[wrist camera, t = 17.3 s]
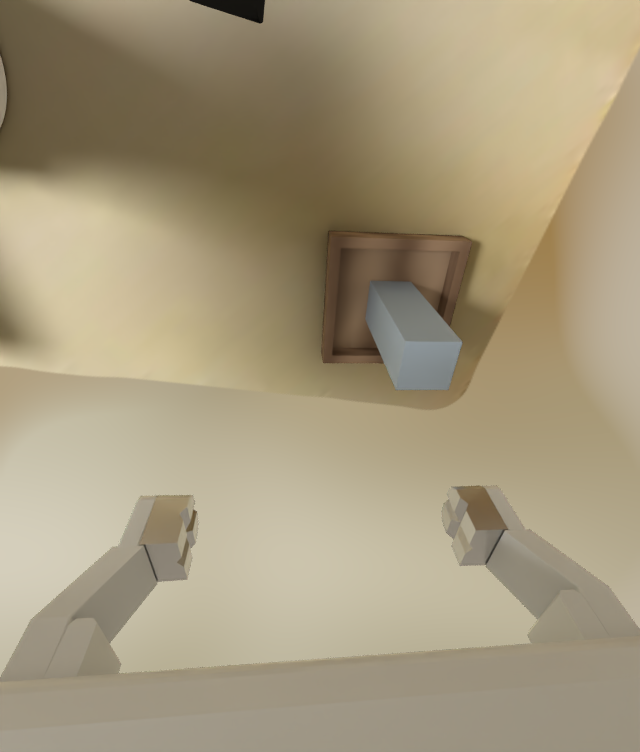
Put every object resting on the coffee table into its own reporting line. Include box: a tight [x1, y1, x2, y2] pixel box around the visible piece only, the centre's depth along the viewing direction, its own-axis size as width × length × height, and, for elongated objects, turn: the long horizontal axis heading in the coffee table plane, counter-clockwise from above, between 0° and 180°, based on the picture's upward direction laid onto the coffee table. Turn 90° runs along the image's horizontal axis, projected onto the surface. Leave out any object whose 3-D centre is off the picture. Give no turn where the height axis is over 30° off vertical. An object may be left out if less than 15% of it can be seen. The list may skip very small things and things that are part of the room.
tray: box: [321, 231, 472, 363], centre depth 40 cm, size 14×14×2 cm
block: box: [365, 281, 462, 390], centre depth 35 cm, size 4×4×14 cm
